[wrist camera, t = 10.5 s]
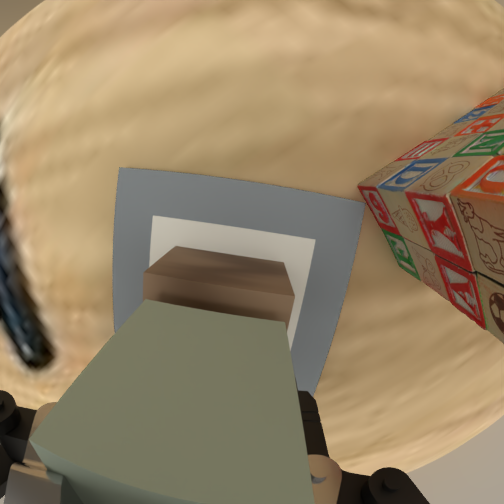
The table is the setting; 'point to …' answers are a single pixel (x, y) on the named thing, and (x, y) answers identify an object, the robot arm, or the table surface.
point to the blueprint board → (236, 254)
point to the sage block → (183, 414)
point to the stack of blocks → (451, 213)
